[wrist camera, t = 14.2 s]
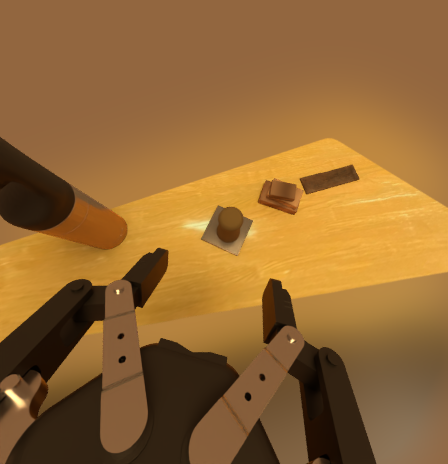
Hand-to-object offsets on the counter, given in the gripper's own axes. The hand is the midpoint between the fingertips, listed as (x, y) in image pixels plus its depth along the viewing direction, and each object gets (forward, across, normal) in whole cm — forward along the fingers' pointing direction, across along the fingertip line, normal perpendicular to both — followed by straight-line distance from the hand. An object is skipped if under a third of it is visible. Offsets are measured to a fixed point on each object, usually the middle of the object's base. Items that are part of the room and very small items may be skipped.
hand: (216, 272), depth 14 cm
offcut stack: (+39, -11, +5) cm, 40 cm away
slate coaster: (+30, +1, +13) cm, 33 cm away
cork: (+30, 0, +13) cm, 32 cm away
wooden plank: (+46, -24, -2) cm, 52 cm away
